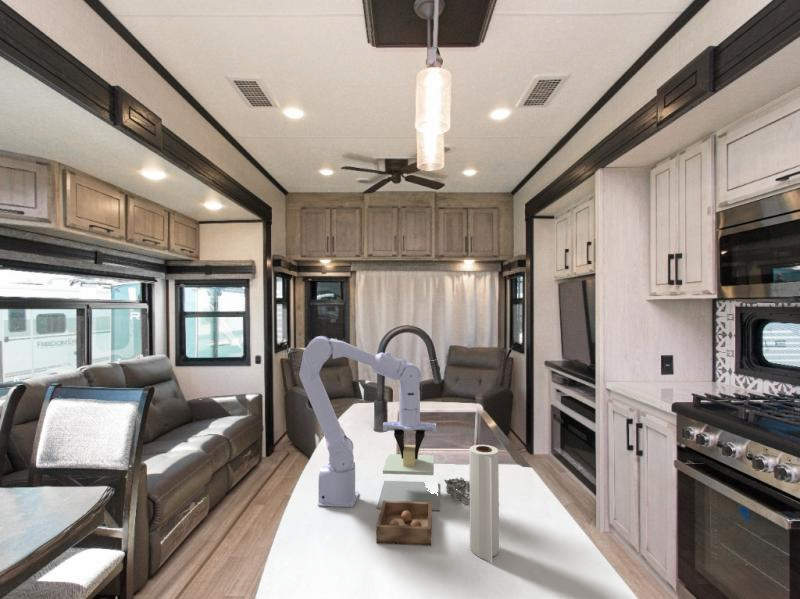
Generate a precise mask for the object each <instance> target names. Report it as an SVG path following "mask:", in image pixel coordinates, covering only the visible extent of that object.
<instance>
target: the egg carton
mask: <svg viewBox="0 0 800 599" xmlns="http://www.w3.org/2000/svg"><path fill="white" fill-rule="evenodd" d="M443 481H444V483H445V484H446V489H445V491H446V492H447V493H448V494H454V495H453V499H454V498H455V499H462V500H461V504H462V503H463V504H467V505H466V506H470V494H466V492H467V491H468V492H467V493H469V492H470V480H465V479H464V478H463V477H460V478H458V477H455V478H449V479H443ZM465 487H466V488H465ZM456 489H457V490H456ZM466 490H467V491H466ZM448 494H447V495H448ZM464 494H465V495H464ZM455 499H454V500H455ZM463 504H462V505H463Z"/></svg>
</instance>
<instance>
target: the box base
mask: <svg viewBox="0 0 800 599" xmlns="http://www.w3.org/2000/svg"><path fill="white" fill-rule="evenodd" d="M379 510H380V511H379V515H378V518H377V522H376V527H375V531H376V532H375V533H376V534H375V539H376V540H375V543H376V544H383V545H404V546H424V547H425V546H427V547H432V539H431V538H432V537H433V536H432V534H433V533H432V532H433V531H432V526H433V525H432V524H433V523H432V521H433V520H432V518H433V517H432V516H433V514H432V512H433V511H432V502H407V501H383V503H382V507H381V509H379Z"/></svg>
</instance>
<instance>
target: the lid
mask: <svg viewBox="0 0 800 599" xmlns="http://www.w3.org/2000/svg"><path fill="white" fill-rule="evenodd" d="M415 448H416V446H415V444H404V451H403V459H402V458H401V453H400V454H399V453H398V454H396V453H388V455H387V458H386V459H385V464H384V467H383V469H382V474H385V475H409V476H410V475H412V476H413V475H415V476H417V475H418V476H434V473H435V472H434V471H435V470H434V466H435V465H434V462H435V460H434V459H435V457H434V456H435V455H433V454H432V455H431V454H428V455H427V454H418V459H415Z"/></svg>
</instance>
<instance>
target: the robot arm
mask: <svg viewBox="0 0 800 599" xmlns="http://www.w3.org/2000/svg"><path fill="white" fill-rule="evenodd" d="M331 355H332V359H334V360H335V359H339V358H343V357H344V358H348V359H350V360H353V361H356V362H359V363H363V364H365V365H368V366H371V368H372V371H373V372H374V373H375V374H378V375H380V376H383V377H386V378H388V379H391V380H394V381H399V389H398V390H399V391H398V405H399V406H398V416H399V417H398V421H390V422H389V421H384V422H383V423H382V432H387V431H390V432H393V437H394V439H395V440H396V443H397V445H398V448H399V451H400V454H401V458H402V459H403V451H404V447H405V432H415V434H414V436H415V437H414V438H415V439H414V440H415V441H414V442H415V444H414V445H415V446H416V448H415V459H418V455H419V451H420V447H421V445H422V443H423V441H424V439H425V434H426V432H432V433H437V423H436V422H425V421H421V391H420V386H421V385H420V383H421V382H422V380H423V376H422V372H421V370H420V368H419V367H417V365H416V364H414V363H412V362H411V361H408V360H407V359H404V358H402V359H400V358H399V357H398V358H397V357H395V356H393V355H391V353H390V352H389V351H385V352H382V351H381V352H379V353H375V354H374V353H371V352H369V351H367V350H365V349H361V348H359V347H357V346H355V345H352V344H350V343H348V342H346V341H344V340H339V339H336V338H332V337H331V338H329V337H327V336H326V335H319V336H315V337H314V338H313V339H312V340H310V341H309V343H308V344H307V346H306V347H305V349H304V350H303V353H302V358H301V359H302V360H301V364H300V368H299V375H298V376H299V379H300V381H301V383H302V386H303V388H304V391H305V393H306V395H307V399H308V400H309V402H310V405H311V407H312V410H313V412H314V414H315V417H316V419H317V422H318V424H319V427H320V429H321V431H322V433H323V436H324V438H325V443H326V447H327V450H328V455H329V456H328V464H327V465H322V466H321V467H320V470H319V473H318V503H317V506H319V507H338V508H339V507H341V508H342V507H343V508H355V505H356V502H357V499H358V496H359V494H360V491H356V462H354V460H355V458H354V443H353V440H351V438H350V437H348V436H347V435H346V433H345V430H344V429H343V428H342V427H341V424H340V422H339V419H338V417H337V415H336V413H335V409H334V407H333V405H332V403H331V400H330V398H329V396H328V393H327V391H326V387H325V386H324V384H323V380H322V379H321V377H320V371H321V369H322V368H323V366H324V363H326V362H327V360H329V358H330V357H331Z"/></svg>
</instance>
